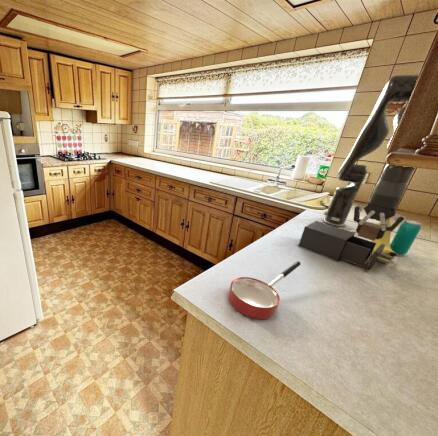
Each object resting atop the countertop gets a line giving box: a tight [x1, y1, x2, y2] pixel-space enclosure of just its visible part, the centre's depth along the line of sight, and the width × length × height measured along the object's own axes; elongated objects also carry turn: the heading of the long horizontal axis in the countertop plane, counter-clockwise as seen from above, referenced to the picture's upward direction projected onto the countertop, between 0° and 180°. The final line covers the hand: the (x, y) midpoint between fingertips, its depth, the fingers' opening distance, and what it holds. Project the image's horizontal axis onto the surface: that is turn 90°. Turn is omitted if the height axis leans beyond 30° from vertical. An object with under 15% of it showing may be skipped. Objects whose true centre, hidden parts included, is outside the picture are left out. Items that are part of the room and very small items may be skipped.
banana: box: [370, 218, 399, 265], centre depth 95 cm, size 23×6×20 cm, turn 148°
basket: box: [339, 235, 399, 272], centre depth 91 cm, size 18×11×8 cm, turn 37°
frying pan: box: [227, 260, 301, 320], centre depth 73 cm, size 32×13×6 cm, turn 130°
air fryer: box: [298, 220, 356, 262], centre depth 101 cm, size 15×13×10 cm
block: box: [357, 220, 381, 241], centre depth 88 cm, size 5×5×5 cm
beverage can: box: [390, 219, 423, 257], centre depth 100 cm, size 6×6×15 cm
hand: (367, 235), depth 89 cm, fingers closed on block, 5 cm apart
